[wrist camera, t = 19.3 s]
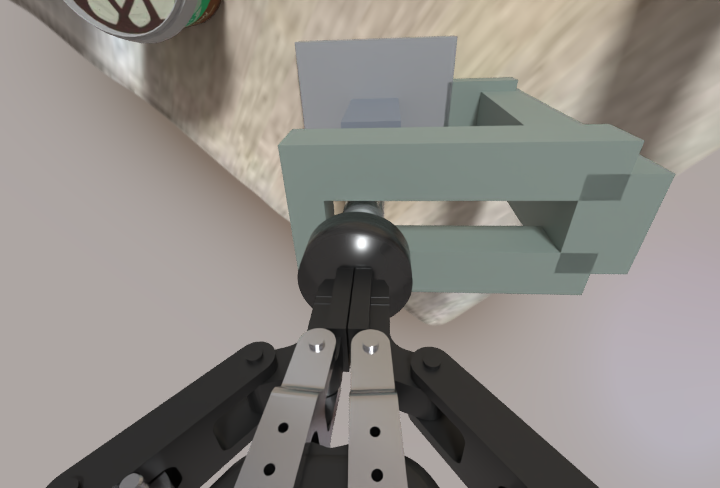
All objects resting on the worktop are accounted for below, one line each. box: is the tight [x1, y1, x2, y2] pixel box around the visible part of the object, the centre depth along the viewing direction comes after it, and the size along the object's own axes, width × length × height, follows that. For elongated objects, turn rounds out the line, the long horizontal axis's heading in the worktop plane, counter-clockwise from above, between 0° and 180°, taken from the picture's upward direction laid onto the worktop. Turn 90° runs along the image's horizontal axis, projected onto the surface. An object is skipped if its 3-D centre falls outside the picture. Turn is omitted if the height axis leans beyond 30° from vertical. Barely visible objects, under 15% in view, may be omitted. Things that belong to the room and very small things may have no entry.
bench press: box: [278, 36, 675, 295], centre depth 29 cm, size 23×16×25 cm
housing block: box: [341, 98, 401, 128], centre depth 34 cm, size 5×5×11 cm
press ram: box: [298, 201, 413, 317], centre depth 22 cm, size 5×5×16 cm
